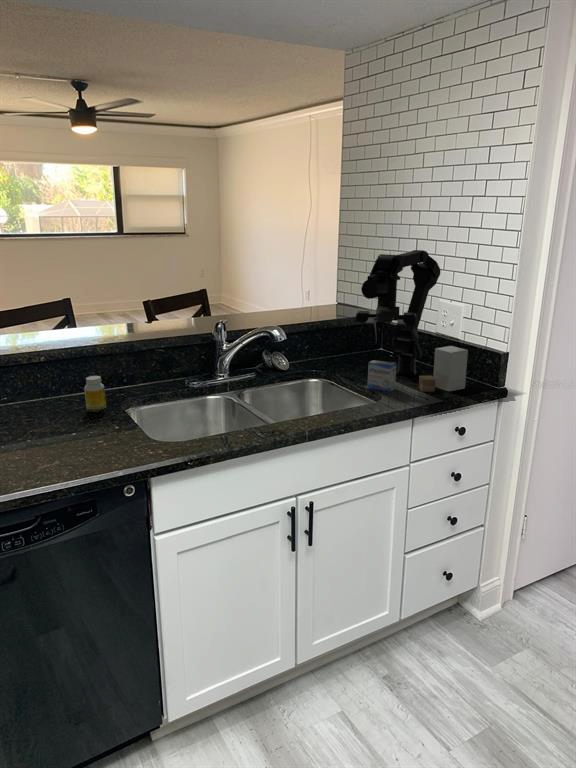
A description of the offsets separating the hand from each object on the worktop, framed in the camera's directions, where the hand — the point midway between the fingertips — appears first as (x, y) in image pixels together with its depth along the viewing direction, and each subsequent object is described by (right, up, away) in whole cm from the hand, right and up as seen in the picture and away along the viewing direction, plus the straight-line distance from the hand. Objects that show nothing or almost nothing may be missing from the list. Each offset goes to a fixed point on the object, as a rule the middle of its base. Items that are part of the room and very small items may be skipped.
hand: (384, 343), depth 182 cm
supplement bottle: (-86, -21, -21) cm, 91 cm away
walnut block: (+12, -15, -4) cm, 20 cm away
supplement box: (+20, -14, -2) cm, 25 cm away
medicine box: (-2, -15, -3) cm, 15 cm away
